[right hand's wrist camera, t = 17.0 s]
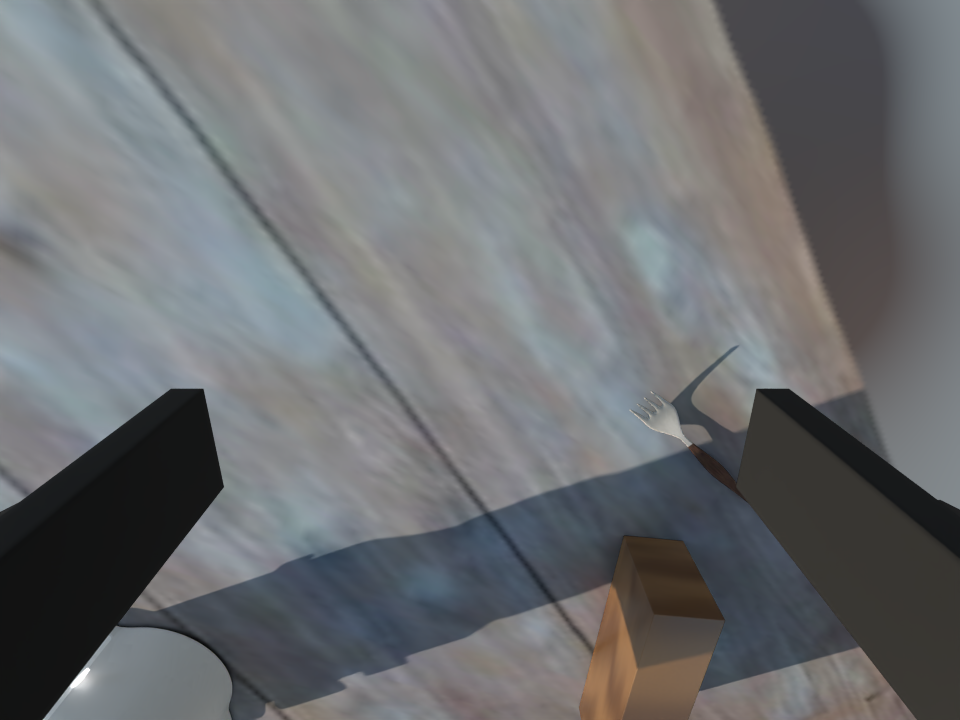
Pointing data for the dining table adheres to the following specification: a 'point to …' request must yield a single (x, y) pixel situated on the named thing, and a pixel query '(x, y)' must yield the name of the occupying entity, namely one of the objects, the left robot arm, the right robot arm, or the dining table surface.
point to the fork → (683, 438)
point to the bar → (652, 636)
